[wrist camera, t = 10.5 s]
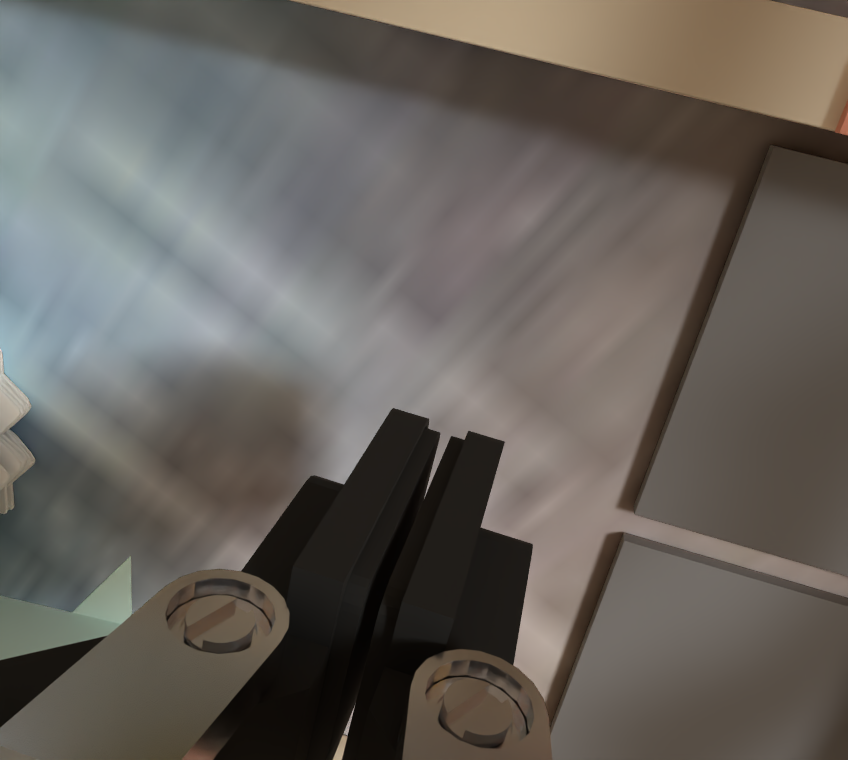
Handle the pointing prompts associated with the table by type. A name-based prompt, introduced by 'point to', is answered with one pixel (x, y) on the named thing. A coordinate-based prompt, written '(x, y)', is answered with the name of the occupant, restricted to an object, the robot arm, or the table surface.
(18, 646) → the l-shaped corner panel
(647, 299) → the table surface
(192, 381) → the table surface
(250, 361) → the table surface
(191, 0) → the table surface
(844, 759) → the box
